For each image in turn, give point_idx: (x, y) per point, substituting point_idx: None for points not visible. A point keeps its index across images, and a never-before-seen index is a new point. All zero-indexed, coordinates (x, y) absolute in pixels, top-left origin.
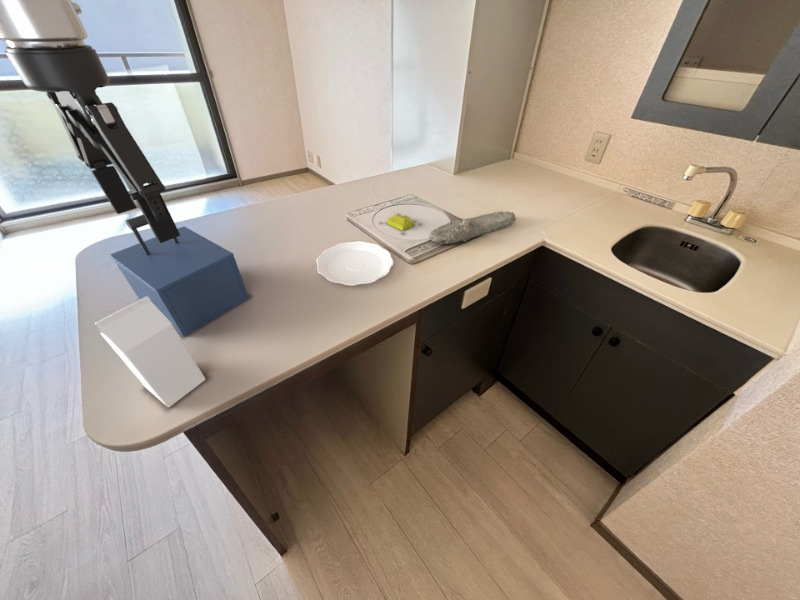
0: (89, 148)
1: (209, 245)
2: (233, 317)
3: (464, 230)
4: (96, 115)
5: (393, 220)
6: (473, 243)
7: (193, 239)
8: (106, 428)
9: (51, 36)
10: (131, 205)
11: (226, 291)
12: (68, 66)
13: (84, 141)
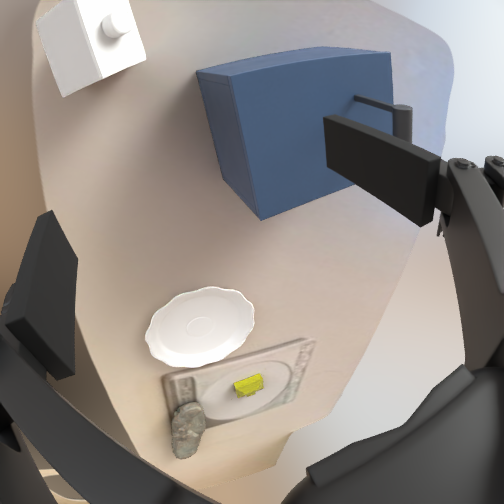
0: (473, 251)
1: (313, 190)
2: (192, 146)
3: (175, 433)
4: None
5: (254, 383)
6: (164, 425)
7: None
8: None
9: None
10: (332, 161)
11: (228, 162)
12: None
13: (489, 283)
